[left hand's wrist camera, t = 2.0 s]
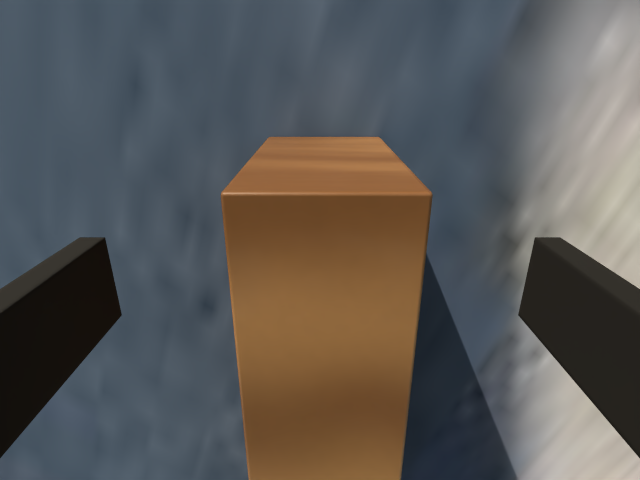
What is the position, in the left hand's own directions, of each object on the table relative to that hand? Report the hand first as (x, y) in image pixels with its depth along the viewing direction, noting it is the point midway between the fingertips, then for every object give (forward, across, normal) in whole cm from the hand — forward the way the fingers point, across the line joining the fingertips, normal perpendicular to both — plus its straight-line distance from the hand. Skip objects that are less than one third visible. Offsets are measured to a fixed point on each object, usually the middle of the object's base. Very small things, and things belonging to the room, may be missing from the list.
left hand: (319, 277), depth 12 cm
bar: (+6, 0, -10) cm, 12 cm away
